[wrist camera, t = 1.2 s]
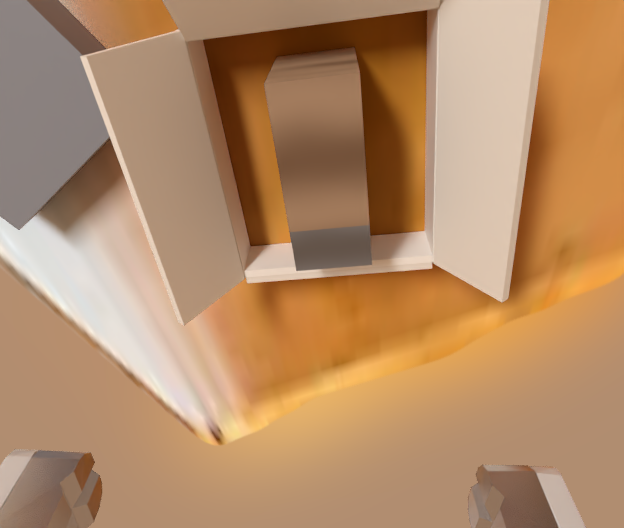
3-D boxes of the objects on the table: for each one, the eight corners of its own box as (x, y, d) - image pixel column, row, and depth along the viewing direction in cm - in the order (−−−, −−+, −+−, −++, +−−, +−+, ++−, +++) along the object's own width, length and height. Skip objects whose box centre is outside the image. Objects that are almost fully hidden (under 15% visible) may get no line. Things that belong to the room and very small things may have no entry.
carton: (118, -35, 28) (45, -26, 21) (502, -93, 26) (567, -105, 19) (206, 262, 40) (179, 332, 33) (475, 239, 38) (508, 309, 31)
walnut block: (276, 56, 31) (263, 84, 25) (354, 46, 30) (359, 72, 24) (301, 219, 37) (296, 271, 31) (365, 213, 37) (372, 264, 31)
